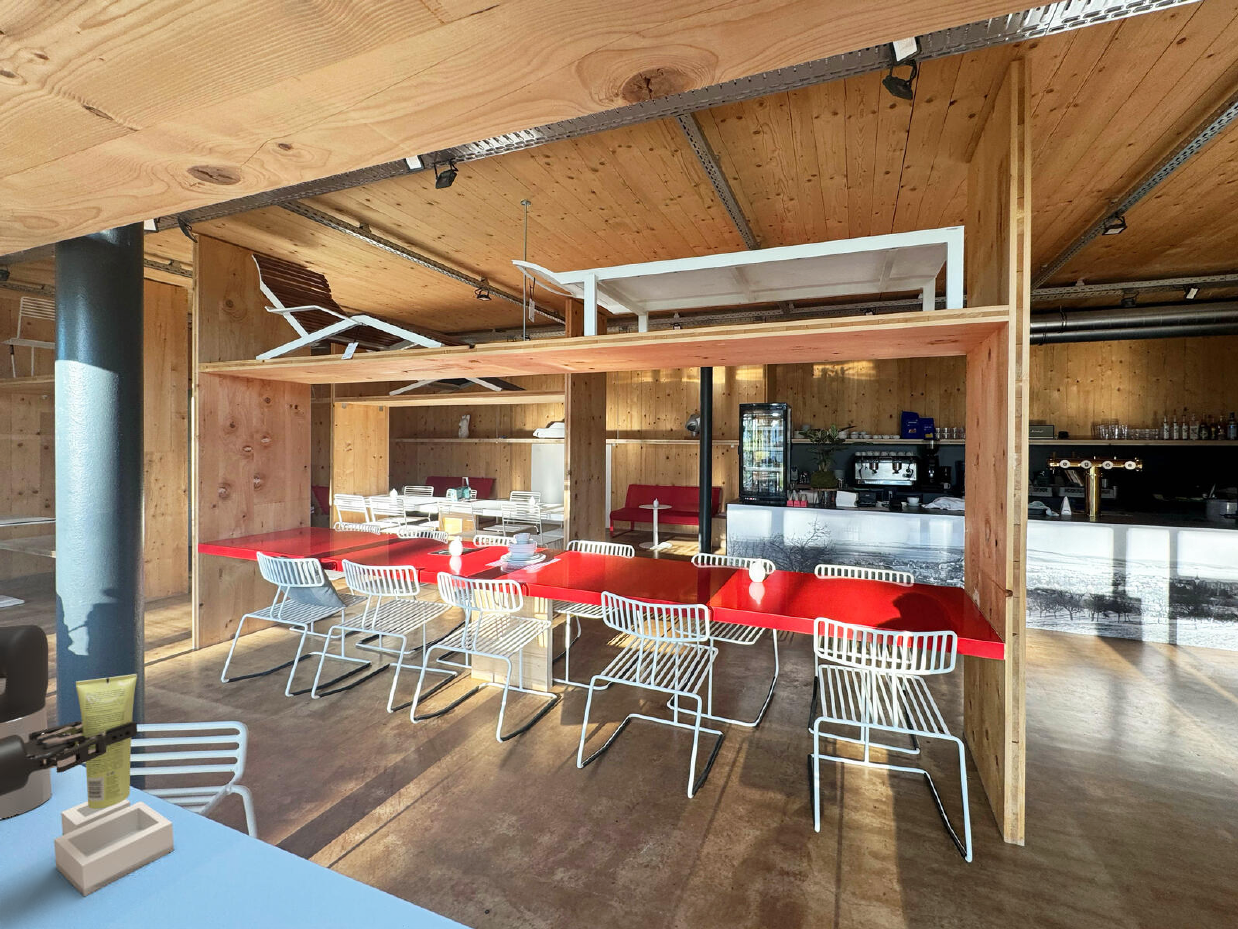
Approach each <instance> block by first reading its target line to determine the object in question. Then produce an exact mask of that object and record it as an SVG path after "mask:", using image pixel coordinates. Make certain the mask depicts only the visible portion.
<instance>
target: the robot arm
mask: <svg viewBox="0 0 1238 929" xmlns="http://www.w3.org/2000/svg"><path fill="white" fill-rule="evenodd" d="M4 679H5V684H4V685H5V686H4V691H3V692H1V693H0V818H5V819H8V818H7V817H9V818H12V817H15V816H14V815H16V814H19V815H21V814H23V813H27V812H29V811H31V810H33V809H35V808H37V807H39V806H40V805H42V804H44V803H45V802H46V801H48V800H49V799H50V798H51V796H52V781H51V780H52V779H51V778H52V777H51V769H54V768H56V773H57V774H58V773H60V774H61V773H64V772H67V771H68V770H71V769H73V768H75V767H77V766H80V765H82V764H84V763H86V762H87V761H89V760H91V759H93V758H96V757H98V756H100V755H102V754H105V753H106V748H107V745H111V744H114V743H116V742H119V741H122V740H125V739H128V738H131V739H132V738H133V737H136V735H137V734H138V724H137V722H136V721H133V720H132V722H129V723H126V724H123V725H120V726H117V727H114V728H111V729H108V730H105V731H100V732H97V733H93V734H89V735H86V734H85V733H83V727H82V720H79V721H77V720H76V721H73V722H71V723H66V724H62V725H57V726H55V727H54V726H53V727H50V728H48V719H47V718H48V717H47V706H46V704H47V703H46V696H47V692H48V688H49V642H48V638H47V634H46V632H45V630H44V629H43V628H42V627H40V625H36V624H21V625H9V626H7V625H6V626H0V680H4ZM88 740H89V741H88ZM86 741H87V742H86ZM92 745H95V746H93V747H90V746H92ZM89 753H90V754H89ZM26 811H27V812H26ZM11 816H12V817H11ZM16 816H17V815H16Z"/></svg>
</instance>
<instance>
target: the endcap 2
mask: <svg viewBox="0 0 1238 929" xmlns="http://www.w3.org/2000/svg"><path fill="white" fill-rule="evenodd" d="M173 830H174V829H173V822H172V821H170V820H169V819H167V818H166V817H165V816H163V815H161V814H160V813H159V812H158V811H156V810H155V809H153V808H151V807H150V806H148V805H147V804H146V803H144V802H143V801H138V802H136V803H134V804H132V805H131V804H130V806H129V807H127V808H124V809H122V810H120V811H117V812H115V813H113V814H111V815H108V816H106V817H104V818H102V819H99V820H97V821H95V822H92V823H90V824H88V825H86V826H83V827H81V828H79V829H76V830H74V831H72V832H70V833H67V834H65V835H63V834H62V835H61V836H59V837H56V838H54V839H53V840H54V852H55V853H54V855H55V867H56V869H57V870H58V871H59V872H60V873H61V875H63V876H64V878H66V880H67V881H69V882H70V884H71V885H73V886H74V888H76V890H77V891H78V892H80V894H81V895H82V896H84V897H86V896H88V895H91V894H93V893H95V892H96V891H98V890H100V889H102V888H104V887H105V886H108V885H110V884H112V883H114V882H115V881H118V880H120V879H122V878H123V877H125V876H127V875H130V874H131V873H134V872H135V871H137V870H139V869H141V868H142V867H144V866H146V865H149V864H150V863H152V862H154V861H156V860H158V859H159V858H162V857H164V856H166V855H168V854H169V852H170V853H171V852H174V851H175V850H174V849H175V848H174V847H175V845H174V831H173Z"/></svg>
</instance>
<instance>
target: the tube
mask: <svg viewBox="0 0 1238 929" xmlns="http://www.w3.org/2000/svg"><path fill="white" fill-rule="evenodd" d="M137 680H138V674H137V673H133V674H128V675H127V674H126V675H118V676H112V677H103V678H96V679H87V680H78V681H75V687H76V688H75V689H76V693H77V697H78V703H79V710H80V717H81V721H82V727H83V733H85V734H86V735H89V734H93V733H97V732H100V731H105V730H108V729H111V728H114V727H117V726H120V725H123V724H126V723H129V722H132V721H133V711H134V702H135V701H134V700H135V692H136V691H135V689H136V684H137ZM88 741H89V740H88ZM86 742H87V741H86ZM93 746H95V745H92V746H90V747H93ZM131 748H132V737H131V738H128V739H125V740H122V741H119V742H116V743H114V744H111V745H107V748H106V753H105V754H102V755H100V756H98V757H96V758H93V759H91V760H89V761H87V762H85V769H86V771H85V772H86V785H87V787H86V788H87V789H86V790H87V801H88V806H89V808H92V809H101V808H106V807H109V806H113V805H115V804H118V803H120V802H122V801H123V800H125V799H127V798H128V797H129V796H130V795H131V794H130V793H131V788H130V787H131V752H132V750H131ZM89 754H90V753H89Z"/></svg>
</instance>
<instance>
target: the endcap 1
mask: <svg viewBox="0 0 1238 929" xmlns="http://www.w3.org/2000/svg"><path fill="white" fill-rule="evenodd" d="M129 806H131V801H130V800H129V799H127V798H126V799H125V800H123V801H122V802H120V803H118V804H115V805H113V806H109V807H106V808H101V809H92V808H89V806H88V800H87V801H84V802H82V803H80V804H78V805H75V806H73V807H70V808H68V809H66V810H62V811H61V812H60V813H61V814H60V815H61V829H62V836H63V835H65V834H67V833H70V832H72V831H74V830H76V829H79V828H81V827H83V826H86V825H88V824H90V823H92V822H95V821H97V820H99V819H102V818H104V817H106V816H108V815H111V814H113V813H115V812H117V811H120V810H122V809H124V808H127V807H129Z"/></svg>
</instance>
